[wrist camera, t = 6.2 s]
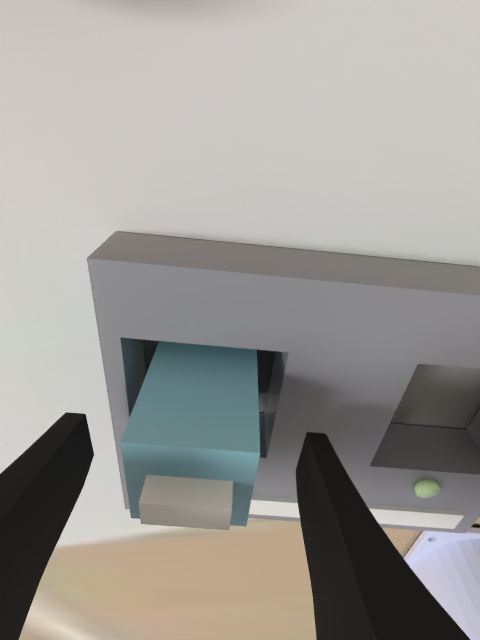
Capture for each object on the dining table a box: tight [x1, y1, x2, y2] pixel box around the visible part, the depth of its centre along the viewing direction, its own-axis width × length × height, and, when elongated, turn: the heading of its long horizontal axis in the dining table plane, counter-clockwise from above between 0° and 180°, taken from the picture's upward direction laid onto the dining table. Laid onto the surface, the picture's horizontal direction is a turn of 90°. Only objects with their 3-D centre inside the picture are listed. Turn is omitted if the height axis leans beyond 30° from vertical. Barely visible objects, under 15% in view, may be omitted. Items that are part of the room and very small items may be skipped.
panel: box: [87, 231, 480, 533], centre depth 14 cm, size 13×17×3 cm
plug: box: [120, 341, 260, 530], centre depth 12 cm, size 4×4×7 cm
